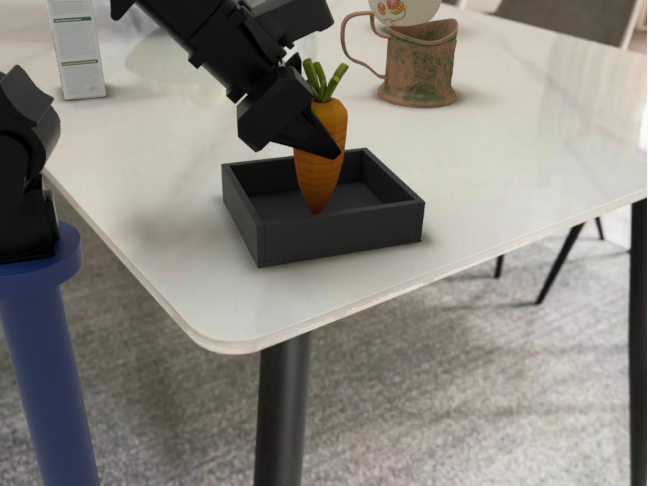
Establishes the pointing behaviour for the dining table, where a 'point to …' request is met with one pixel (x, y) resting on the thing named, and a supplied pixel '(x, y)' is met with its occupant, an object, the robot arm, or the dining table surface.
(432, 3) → the bowl
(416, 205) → the tray
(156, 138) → the dining table surface
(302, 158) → the carrot
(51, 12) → the syrup box
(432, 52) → the mug
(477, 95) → the dining table surface
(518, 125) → the dining table surface
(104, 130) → the dining table surface
